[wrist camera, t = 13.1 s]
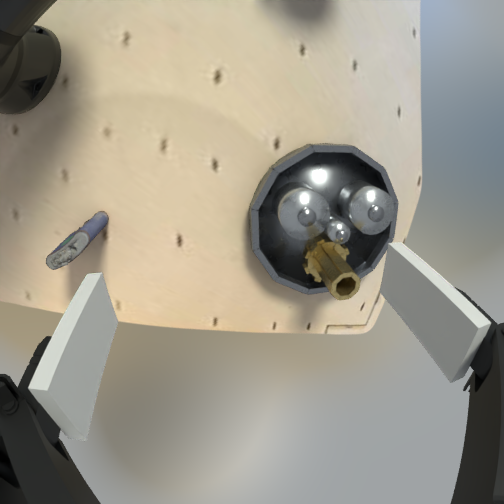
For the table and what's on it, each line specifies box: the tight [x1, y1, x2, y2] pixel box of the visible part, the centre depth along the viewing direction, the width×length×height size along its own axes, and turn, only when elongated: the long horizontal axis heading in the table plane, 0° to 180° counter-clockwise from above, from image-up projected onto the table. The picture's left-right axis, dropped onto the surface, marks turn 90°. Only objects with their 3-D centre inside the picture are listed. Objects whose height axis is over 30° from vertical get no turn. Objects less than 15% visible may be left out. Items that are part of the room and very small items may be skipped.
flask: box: [46, 211, 109, 270], centre depth 39 cm, size 9×3×11 cm, turn 119°
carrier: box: [249, 143, 398, 294], centre depth 44 cm, size 24×24×8 cm
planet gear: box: [302, 236, 361, 300], centre depth 45 cm, size 8×8×10 cm
